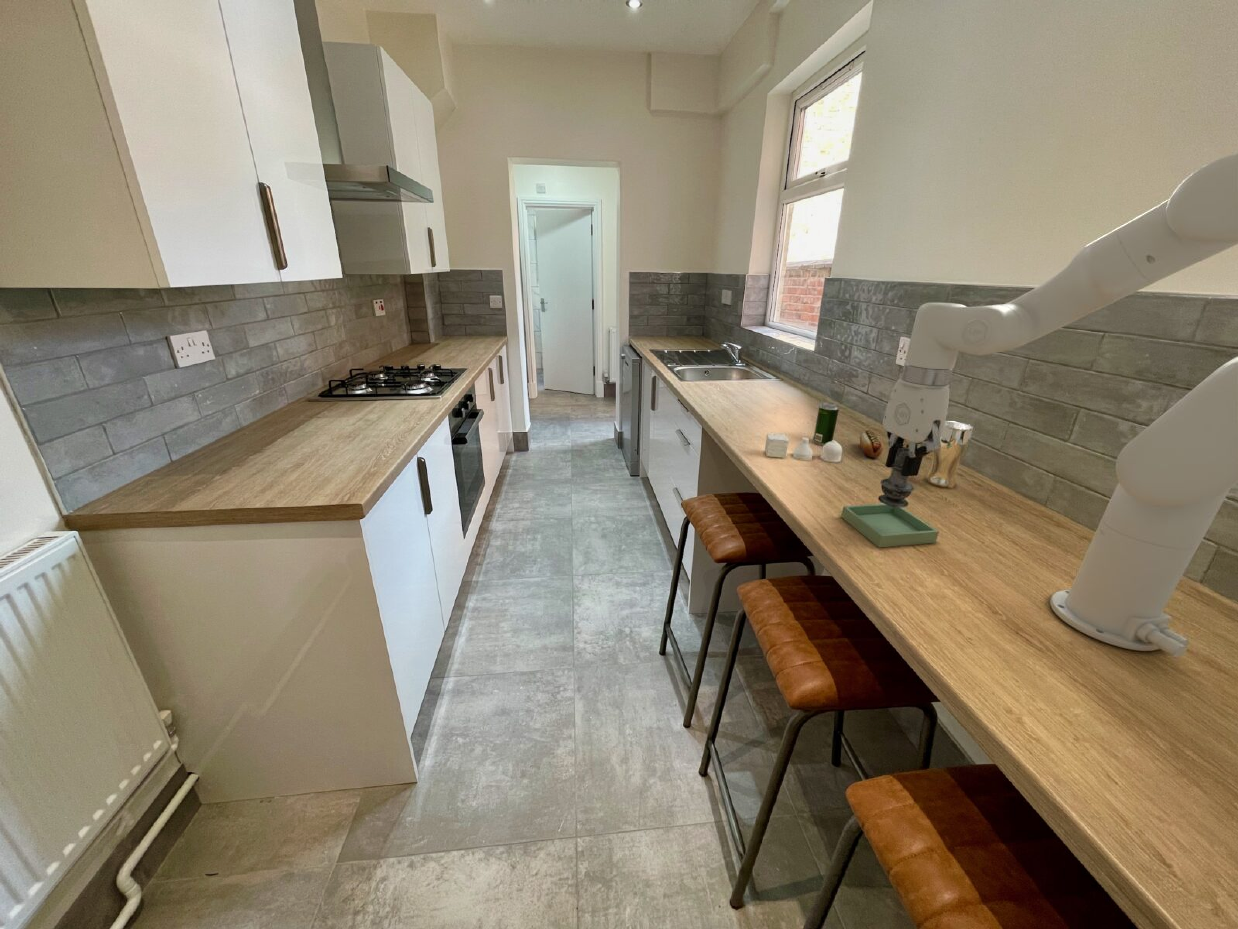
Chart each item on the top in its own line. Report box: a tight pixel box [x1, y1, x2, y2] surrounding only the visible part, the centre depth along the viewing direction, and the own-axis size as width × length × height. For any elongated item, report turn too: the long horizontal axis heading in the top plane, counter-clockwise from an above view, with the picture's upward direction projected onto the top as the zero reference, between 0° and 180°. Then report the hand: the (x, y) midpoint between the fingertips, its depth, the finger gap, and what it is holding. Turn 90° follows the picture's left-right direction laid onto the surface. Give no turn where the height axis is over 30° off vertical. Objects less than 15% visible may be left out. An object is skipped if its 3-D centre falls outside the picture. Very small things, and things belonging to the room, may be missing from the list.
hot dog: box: [859, 430, 884, 458], centre depth 139 cm, size 5×13×5 cm, turn 163°
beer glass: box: [925, 420, 974, 489], centre depth 118 cm, size 7×7×15 cm
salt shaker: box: [877, 443, 915, 508], centre depth 94 cm, size 6×6×12 cm
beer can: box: [812, 401, 840, 447], centre depth 144 cm, size 5×5×12 cm
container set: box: [764, 433, 843, 463], centre depth 134 cm, size 20×5×6 cm, turn 82°
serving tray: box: [840, 503, 940, 548], centre depth 98 cm, size 12×12×2 cm
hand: (901, 470), depth 93 cm, fingers closed on salt shaker, 3 cm apart
